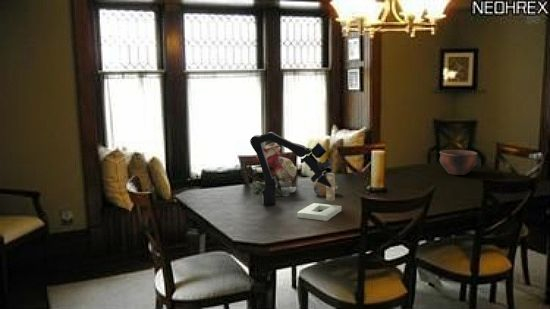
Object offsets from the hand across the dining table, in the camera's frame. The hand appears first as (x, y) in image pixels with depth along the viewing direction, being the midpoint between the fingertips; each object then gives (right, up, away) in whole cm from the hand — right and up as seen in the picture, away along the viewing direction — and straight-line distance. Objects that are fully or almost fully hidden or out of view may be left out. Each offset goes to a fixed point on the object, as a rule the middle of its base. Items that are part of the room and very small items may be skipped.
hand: (332, 185), depth 282 cm
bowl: (+94, +3, +80) cm, 124 cm away
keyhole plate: (-8, -14, -10) cm, 19 cm away
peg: (-1, -7, +2) cm, 8 cm away
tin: (-1, -7, +31) cm, 32 cm away
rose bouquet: (-30, -6, +42) cm, 52 cm away
